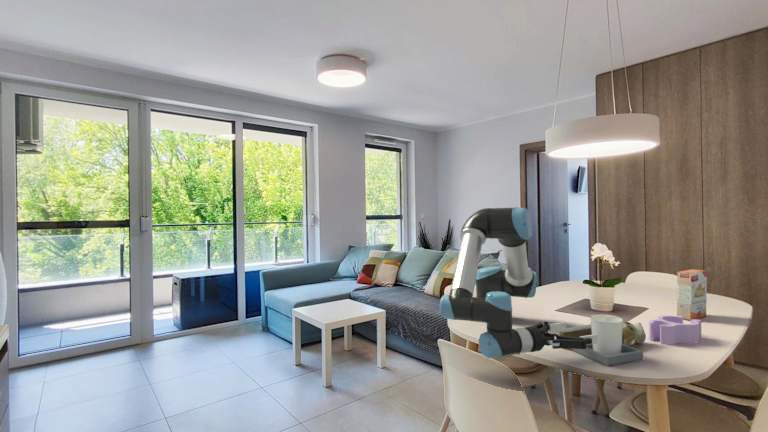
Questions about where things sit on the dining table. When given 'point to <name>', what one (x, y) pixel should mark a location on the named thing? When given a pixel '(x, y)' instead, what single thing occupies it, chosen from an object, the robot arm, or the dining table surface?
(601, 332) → the white cup
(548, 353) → the dining table surface
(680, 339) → the clip
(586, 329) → the board
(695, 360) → the dining table surface
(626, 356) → the blue gray square tray
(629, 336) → the ceramic sculpture
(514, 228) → the robot arm
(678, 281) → the cracker box
